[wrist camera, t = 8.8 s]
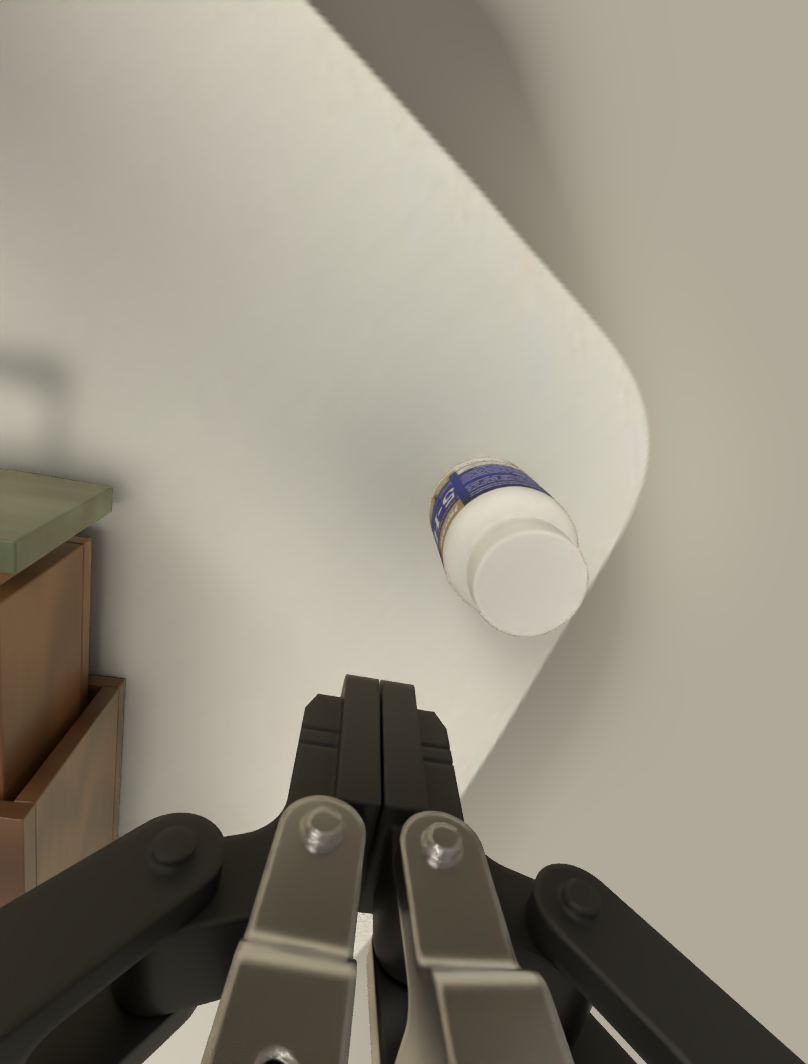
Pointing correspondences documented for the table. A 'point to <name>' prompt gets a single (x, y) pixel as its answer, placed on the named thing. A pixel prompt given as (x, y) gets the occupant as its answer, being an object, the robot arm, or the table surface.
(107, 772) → the cabinet
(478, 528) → the pill bottle
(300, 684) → the table surface
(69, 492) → the drawer
